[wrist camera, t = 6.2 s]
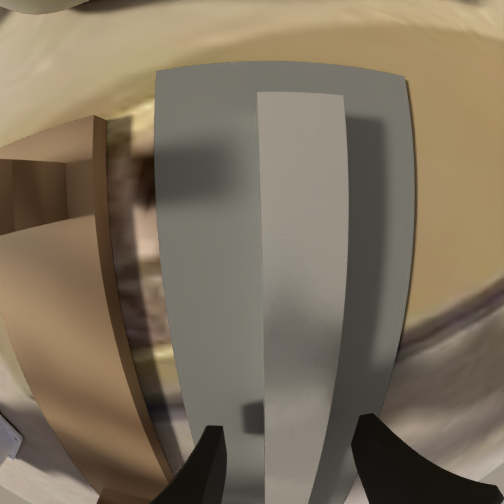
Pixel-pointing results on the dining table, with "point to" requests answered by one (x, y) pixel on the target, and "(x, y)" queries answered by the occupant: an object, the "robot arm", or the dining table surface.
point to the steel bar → (300, 279)
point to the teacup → (39, 5)
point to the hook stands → (74, 309)
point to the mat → (248, 252)
